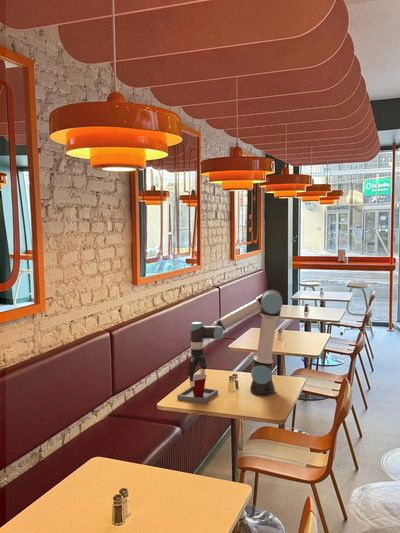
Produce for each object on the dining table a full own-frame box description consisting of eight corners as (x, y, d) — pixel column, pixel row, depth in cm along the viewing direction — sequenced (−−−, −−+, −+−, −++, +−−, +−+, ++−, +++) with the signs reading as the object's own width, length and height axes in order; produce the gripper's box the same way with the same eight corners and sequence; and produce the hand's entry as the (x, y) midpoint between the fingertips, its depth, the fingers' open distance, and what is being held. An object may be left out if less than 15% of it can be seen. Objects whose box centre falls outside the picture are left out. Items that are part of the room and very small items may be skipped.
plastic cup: (191, 392, 304) (191, 373, 303) (208, 392, 301) (208, 373, 300) (187, 398, 293) (186, 378, 292) (205, 398, 291) (204, 379, 290)
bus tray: (217, 394, 301) (217, 389, 301) (204, 404, 285) (204, 399, 285) (191, 390, 309) (191, 385, 309) (177, 399, 293) (177, 394, 293)
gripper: (201, 342, 307) (201, 376, 309) (181, 352, 285) (182, 388, 287) (211, 344, 304) (212, 377, 306) (192, 353, 282) (193, 389, 284)
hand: (197, 382), depth 296 cm, fingers open, 13 cm apart
